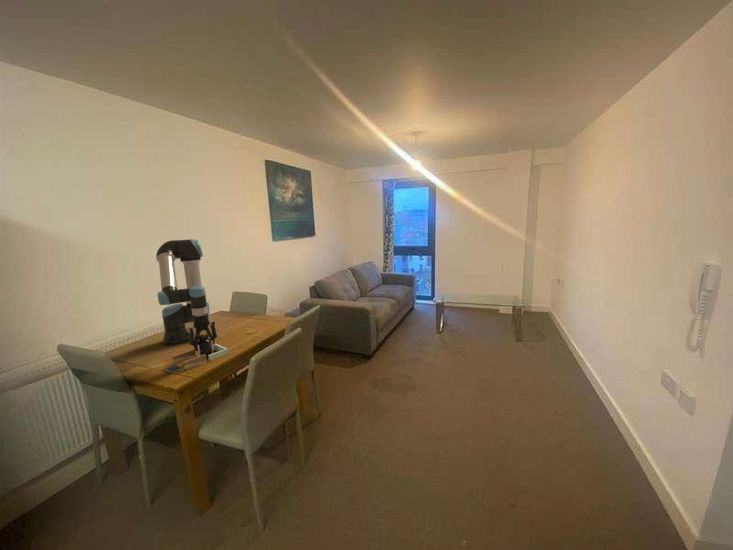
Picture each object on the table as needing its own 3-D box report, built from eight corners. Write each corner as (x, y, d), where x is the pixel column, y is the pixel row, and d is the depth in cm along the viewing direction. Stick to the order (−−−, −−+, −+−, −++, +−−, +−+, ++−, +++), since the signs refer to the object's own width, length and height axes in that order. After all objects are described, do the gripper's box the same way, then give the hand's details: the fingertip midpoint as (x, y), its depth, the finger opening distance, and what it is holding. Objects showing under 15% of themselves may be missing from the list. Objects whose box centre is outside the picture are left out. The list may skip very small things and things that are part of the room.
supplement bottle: (199, 359, 168) (197, 339, 166) (198, 355, 174) (195, 335, 171) (213, 356, 172) (210, 336, 170) (211, 352, 178) (208, 332, 175)
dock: (198, 355, 176) (197, 350, 176) (217, 348, 185) (216, 343, 184) (210, 360, 168) (209, 355, 168) (229, 353, 177) (228, 348, 176)
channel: (173, 363, 166) (172, 356, 165) (194, 356, 175) (193, 348, 174) (185, 370, 158) (184, 362, 157) (206, 362, 167) (205, 354, 166)
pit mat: (163, 369, 160) (163, 368, 159) (176, 365, 164) (175, 364, 164) (170, 374, 155) (170, 372, 155) (182, 369, 160) (182, 368, 160)
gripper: (184, 320, 158) (190, 361, 163) (221, 310, 174) (225, 348, 178) (178, 318, 163) (183, 358, 167) (214, 308, 178) (218, 345, 183)
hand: (205, 353), depth 173 cm, fingers closed on supplement bottle, 7 cm apart
